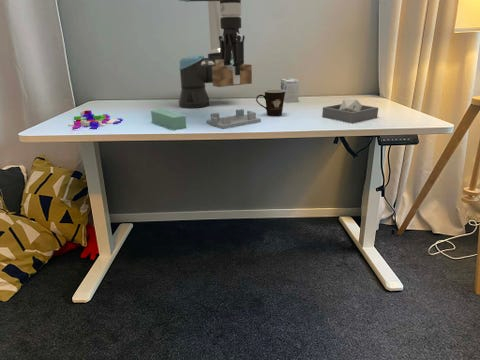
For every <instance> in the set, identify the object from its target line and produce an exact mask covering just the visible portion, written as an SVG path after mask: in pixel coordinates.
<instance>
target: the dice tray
mask: <svg viewBox="0 0 480 360" xmlns="http://www.w3.org/2000/svg"><path fill="white" fill-rule="evenodd" d="M341 104H342V103H339V104H333V105H329V106H323V107H322V118H326V119H330V120H334V121H339V122H343V123H348V124H355V123H359V122H364V121H369V120H372V119H377V118H378V116H379V107H376V106H369V105H365V104H361V105H362V107H361V109H360V111H356V112H348V111H343V110H339V108H340V106H341Z"/></svg>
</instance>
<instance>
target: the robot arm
mask: <svg viewBox="0 0 480 360" xmlns="http://www.w3.org/2000/svg"><path fill="white" fill-rule="evenodd" d="M178 1H179V2H185V3H188V2H207V5H208V6H207V8H208V9H207V10H208V11H207V12H208V24H209V25H208V26H209V41H210V42H209V44H210V45H209V46H210V50H209V52H208V53H207V57H205V55H203V54H197V55H190V56H185V57H182V58H181V59H179V73H180V74H179V75H180V88H181V90H180V95H179V99H178V107H180V108H184V109H198V108H205V107H209V106H210V105H211V103H210V98H209V95H208V92H207V90H206V84H213V79H212V67H214V66H216V63H215V60H222V59H223V60H224V66H228V71H233V85H234V86H236V85H235V84H240V66H241V65H242V64H245V46H244V45H245V38H246V37H245V35H242V34H240V31H239V30H240V29H242V18H241V15H242V2H241V1H242V0H178Z"/></svg>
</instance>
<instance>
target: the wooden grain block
mask: <svg viewBox="0 0 480 360" xmlns="http://www.w3.org/2000/svg"><path fill="white" fill-rule="evenodd" d="M215 63H216V66H214V67H212V79H213V83H212V87H217V88H224V87H232V86H240V85H241V86H242V85H250V84H253V83H252V81H253V75H252V74H253V73H252V72H253V71H252V70H253V69H252V67H253V65H252V64H248V63H247V64H245V63H244V64H242V65H241V66H240V84H235V85H233V71H228V66H224V60H223V59H222V60H215Z"/></svg>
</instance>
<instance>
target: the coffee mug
mask: <svg viewBox="0 0 480 360" xmlns="http://www.w3.org/2000/svg"><path fill="white" fill-rule="evenodd" d="M284 95H285V91H284V90H281V89H266V90H264V94H259V95H256V98H255V101H256V103H257V104H258V105H259V106H261V107H262V108H264V109H265V110H266V115H267V116H268V117H280V116H282V115H283V109H284V103H285V102H284ZM260 97H263V98H264V100H265V106H264V105H263V104H261V103H260V102H259V100H258V99H259V98H260Z"/></svg>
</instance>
